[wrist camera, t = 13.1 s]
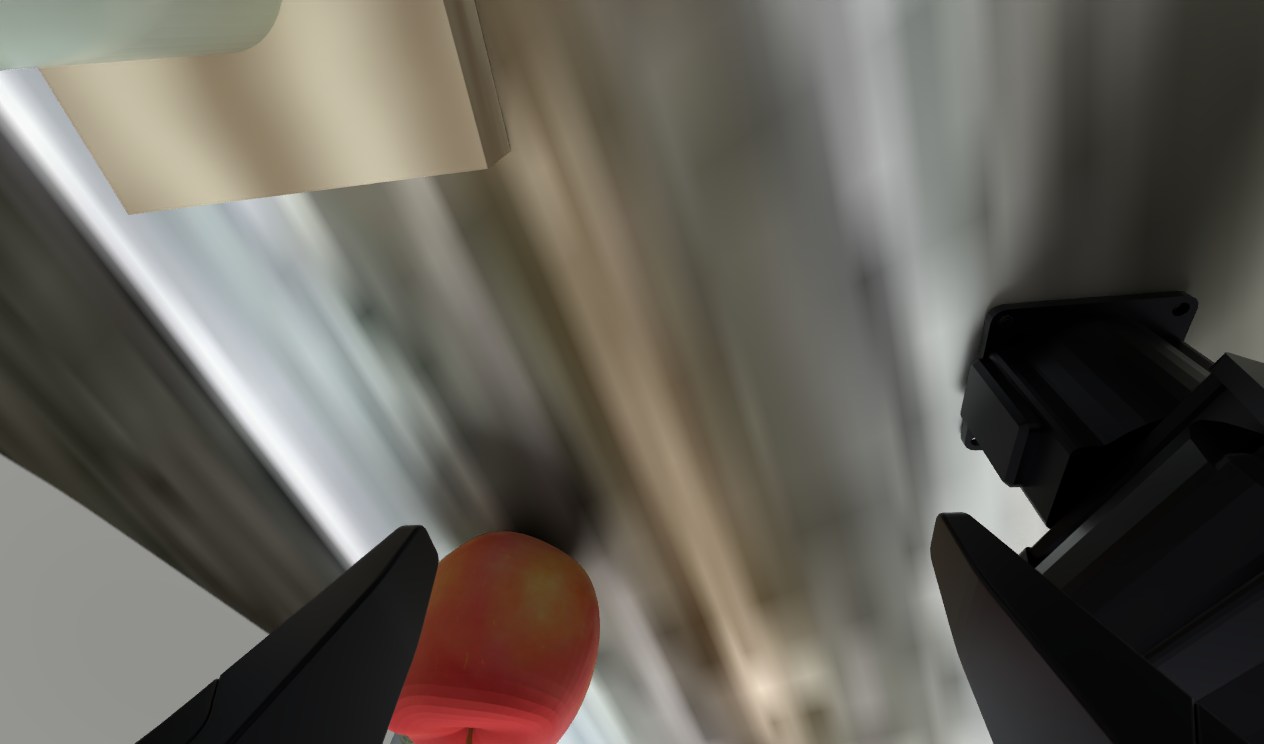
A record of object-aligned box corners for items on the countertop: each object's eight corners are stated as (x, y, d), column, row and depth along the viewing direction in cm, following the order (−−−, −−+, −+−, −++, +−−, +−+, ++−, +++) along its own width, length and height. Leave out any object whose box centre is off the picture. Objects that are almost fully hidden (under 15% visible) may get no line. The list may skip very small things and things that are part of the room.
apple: (405, 531, 31) (296, 726, 23) (532, 462, 27) (457, 664, 19) (523, 625, 35) (467, 822, 26) (649, 575, 31) (630, 787, 22)
